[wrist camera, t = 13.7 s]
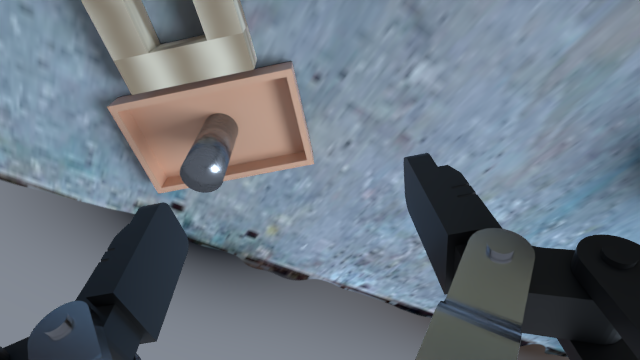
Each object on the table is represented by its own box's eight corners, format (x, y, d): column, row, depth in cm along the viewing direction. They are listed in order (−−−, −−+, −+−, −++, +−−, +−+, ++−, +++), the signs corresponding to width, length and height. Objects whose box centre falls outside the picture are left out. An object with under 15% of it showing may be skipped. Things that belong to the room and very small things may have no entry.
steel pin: (231, 110, 42) (214, 153, 33) (242, 140, 45) (229, 188, 36) (198, 116, 42) (172, 162, 33) (211, 146, 45) (190, 195, 36)
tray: (291, 61, 40) (291, 68, 37) (312, 152, 47) (313, 163, 45) (118, 97, 41) (107, 107, 39) (165, 181, 48) (158, 193, 46)
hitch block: (214, -90, 31) (205, -94, 28) (257, 59, 39) (253, 69, 36) (75, -57, 32) (50, -57, 29) (145, 83, 40) (131, 95, 37)
